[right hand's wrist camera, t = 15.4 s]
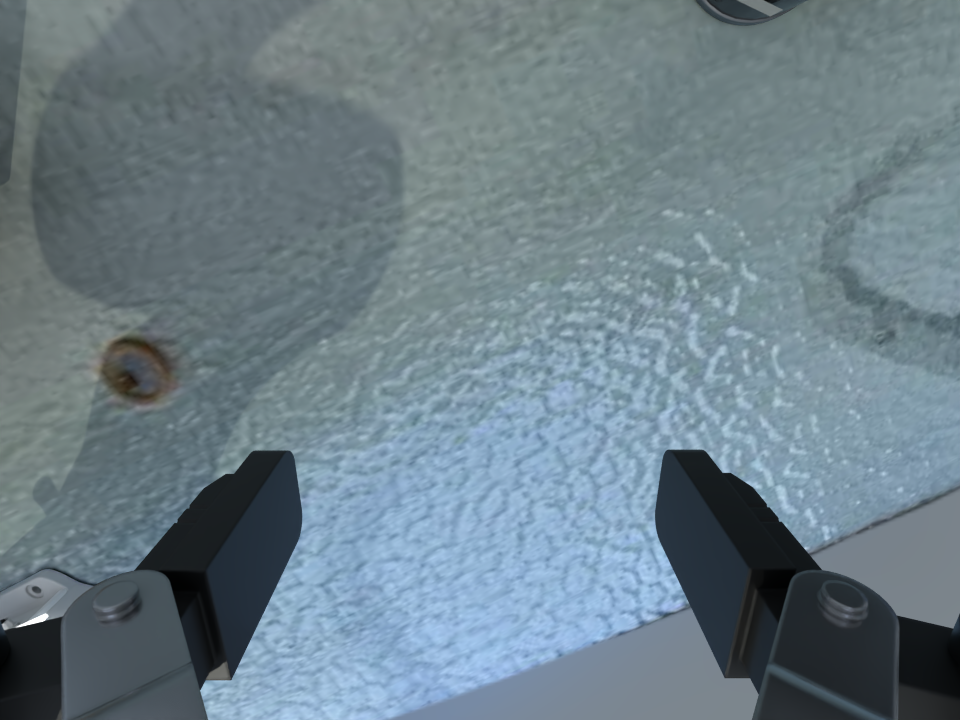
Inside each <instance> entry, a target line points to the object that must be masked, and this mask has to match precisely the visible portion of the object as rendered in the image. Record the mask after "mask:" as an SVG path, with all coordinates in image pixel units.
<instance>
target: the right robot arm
mask: <svg viewBox="0 0 960 720" xmlns="http://www.w3.org/2000/svg"><path fill="white" fill-rule="evenodd" d="M696 1H697V3H698V4H699V5H700V6H701V7H702V8H703V9H704V10H705V11H706V12H707V13H709V14H710V15H712V16H713V17H715V18H717V19H718V20H721V21H723V22H726V23H729V24H734V25H755V24H760V23H764V22H767V21H769V20H772V19H774V18H776V17H778V16H781V15H783V14H784V13H786V12H788V11H790V10H791V9H793V8H794V7H796V6H797V5H799V4H801V3H803V2H805V1H807V0H696ZM655 523H656V530H657V534H658V538H659V540H660V543H661V545H662V547H663V549H664V551H665V553H666V555H667V557H668V559H669V562H670V564H671V566H672V568H673V570H674V572H675V574H676V576H677V578H678V581H679V583H680V585H681V587H682V589H683V591H684V593H685V595H686V597H687V600H688V602H689V604H690V606H691V608H692V610H693V612H694V614H695V616H696V618H697V620H698V623H699V625H700V627H701V629H702V631H703V633H704V635H705V637H706V640H707V642H708V644H709V646H710V648H711V650H712V652H713V654H714V656H715V659H716V661H717V663H718V665H719V667H720V669H721V671H722V673H723V675H724V677H725V678H750V679H751V681H752V683H753V684H754V686H755V688H756V690H757V692H758V694H759V696H758V700H757V703H756V707H755V711H754V714H753V718H752V720H960V615H959V617H958V619H957V622H956V624H955V626H954V629H952V628H948V627H944V626H939V625H935V624H931V623H926V622H922V621H918V620H914V619H909V618H905V617H900V616H897V615H896V614H895V612H894V611H893V609H892V608H891V606H890V605H889V604H888V603H887V602H886V601H885V600H884V599H883V598H882V597H881V596H880V595H878V594H877V593H876V592H874V591H873V590H871V589H870V588H868V587H867V586H865V585H863V584H862V583H860V582H858V581H856V580H854V579H851V578H849V577H847V576H844V575H841V574H838V573H834V572H830V571H823V570H822V569H821V568H820V567H819V566H818V565H817V563H816V562H815V561H814V560H813V559H812V557H811V556H810V555H809V554H808V553H807V552H806V550H805V549H804V548H803V547H802V546H801V544H800V543H799V542H798V541H797V540H796V538H795V537H794V536H793V535H792V534H791V532H790V531H789V530H788V529H787V528H786V526H785V525H784V524H783V523H782V522H779V520H778V517H777V516H776V515H775V513H774V512H773V511H772V510H771V509H770V507H767V504H766V503H765V501H764V500H763V499H762V498H761V497H760V495H759V494H758V493H757V492H756V491H755V489H754V488H753V487H751V486H750V485H748V484H747V483H745V482H744V481H742V480H741V479H739V478H738V477H736V476H735V475H733V474H732V473H722V472H721V470H720V469H719V468H718V466H717V465H716V464H715V463H714V461H713V460H712V459H711V458H710V456H709V455H708V454H707V453H706V451H704V450H667V451H666V452H665V453H664V456H663V460H662V467H661V474H660V481H659V488H658V495H657V502H656V509H655ZM301 527H302V508H301V501H300V494H299V487H298V480H297V473H296V466H295V460H294V456H293V454H292V452H290V451H253V452H251V453H250V454H249V456H248V457H247V458H246V460H245V461H244V462H243V463H242V465H241V466H240V467H239V468H238V470H237V471H236V472H235V473H234V474H225V475H224V476H222V477H221V478H219V479H218V480H216V481H215V482H213V483H211V484H210V485H208V486H207V487H205V488H204V489H203V490H202V491H201V492H200V494H199V495H198V496H197V497H196V498H195V500H194V501H193V502H192V503H191V504H190V508H189V509H186V510H185V511H184V513H183V514H182V515H181V516H180V517H179V518H178V522H177V523H174V524H173V526H172V527H171V528H170V529H169V530H168V531H167V533H166V534H165V535H164V536H163V537H162V539H161V540H160V541H159V542H158V543H157V544H156V546H155V547H154V548H153V549H152V550H151V552H150V553H149V554H148V555H147V556H146V557H145V559H144V560H143V561H142V562H141V563H140V565H139V566H138V567H137V568H136V569H135V570H134V571H130V572H126V573H122V574H119V575H116V576H113V577H111V578H109V579H106V580H104V581H102V582H100V583H98V584H96V585H95V586H93V587H92V588H90V589H88V590H87V591H86V592H84V593H83V594H82V595H80V596H79V597H78V598H77V599H76V600H75V601H74V602H73V603H72V604H71V605H70V606H69V608H68V609H67V611H66V612H65V614H64V616H62V617H58V618H54V619H50V620H46V621H41V622H37V623H33V624H29V625H24V626H20V627H16V628H11V629H7V630H4V629H3V626H2V624H1V622H0V720H208V718H207V714H206V711H205V707H204V703H203V700H202V696H201V692H200V690H201V688H202V686H203V684H204V682H205V680H232V677H233V675H234V673H235V671H236V669H237V667H238V665H239V663H240V661H241V659H242V657H243V655H244V653H245V650H246V648H247V646H248V644H249V642H250V640H251V638H252V636H253V634H254V632H255V630H256V628H257V625H258V623H259V621H260V619H261V617H262V615H263V613H264V611H265V609H266V607H267V605H268V603H269V600H270V598H271V596H272V594H273V592H274V590H275V588H276V586H277V584H278V582H279V580H280V578H281V575H282V573H283V571H284V569H285V567H286V565H287V563H288V561H289V559H290V557H291V555H292V553H293V550H294V548H295V546H296V544H297V542H298V540H299V537H300V533H301Z"/></svg>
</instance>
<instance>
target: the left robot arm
mask: <svg viewBox="0 0 960 720" xmlns="http://www.w3.org/2000/svg"><path fill="white" fill-rule="evenodd" d="M92 587H93V586H92V585H87V584H83V583H80V582H78V581H76V580H74V579H72V578H70V577H68V576H66V575H64V574H62V573H60V572H58V571H55V570H52V569H44V570H41V571H39V572H37V573H35V574H34V575H32V576H30V577H28V578H26V579H24V580H22V581H20V582H18V583H17V584H15V585H13V586H11V587H9V588H7V589H5V590H3V591H1V592H0V622H1V624H2V626H3V629H4V630H7V629H11V628H16V627H20V626H24V625H29V624H33V623H37V622H41V621H46V620H50V619H54V618H58V617H62V616H64V614H65V612H66V611H67V609H68V608H69V606H70V605H71V604H72V603H73V602H74V601H75V600H76V599H77V598H78V597H79V596H80V595H82V594H83V593H84V592H86V591H87V590H88V589H90V588H92Z"/></svg>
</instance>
